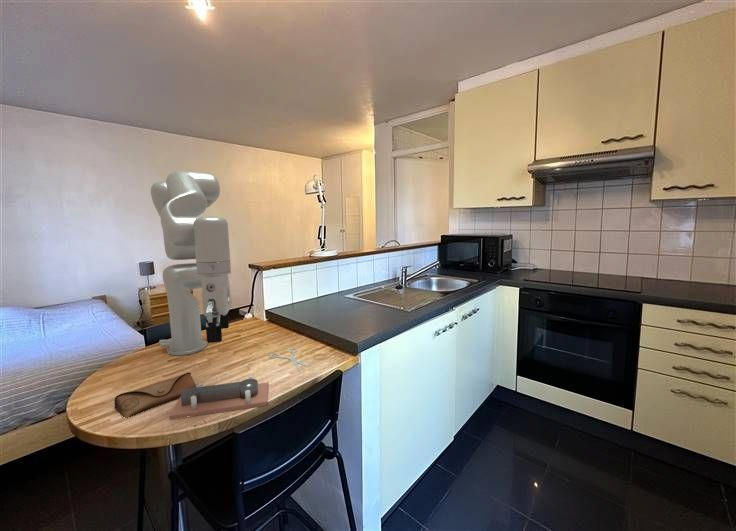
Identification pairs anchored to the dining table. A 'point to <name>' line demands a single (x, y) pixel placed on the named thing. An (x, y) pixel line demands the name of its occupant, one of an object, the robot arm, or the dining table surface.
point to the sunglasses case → (152, 395)
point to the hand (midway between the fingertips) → (218, 334)
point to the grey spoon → (220, 392)
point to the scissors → (289, 358)
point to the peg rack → (221, 403)
